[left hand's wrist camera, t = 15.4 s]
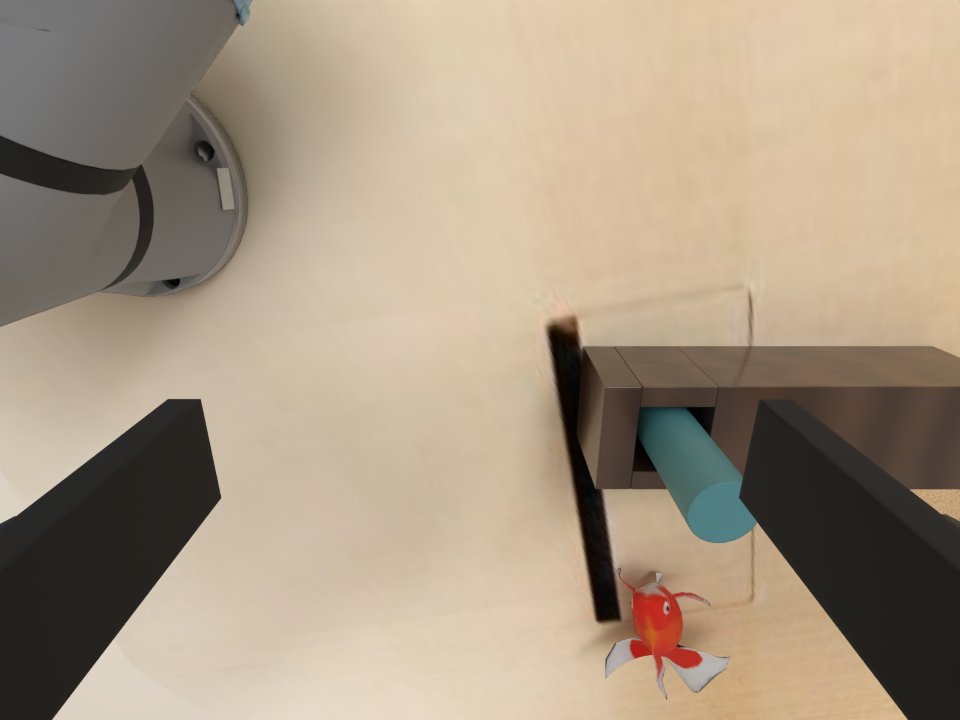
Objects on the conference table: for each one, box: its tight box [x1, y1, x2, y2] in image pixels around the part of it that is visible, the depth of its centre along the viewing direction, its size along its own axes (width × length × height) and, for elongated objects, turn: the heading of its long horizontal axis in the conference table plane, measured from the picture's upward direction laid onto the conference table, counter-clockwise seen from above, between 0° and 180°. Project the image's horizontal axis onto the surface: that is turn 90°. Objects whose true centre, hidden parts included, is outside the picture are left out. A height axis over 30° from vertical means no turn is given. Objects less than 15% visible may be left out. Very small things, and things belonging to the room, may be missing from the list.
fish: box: [605, 568, 730, 699], centre depth 48 cm, size 11×16×10 cm
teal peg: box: [637, 407, 757, 543], centre depth 36 cm, size 4×4×15 cm
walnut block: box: [577, 347, 960, 489], centre depth 40 cm, size 28×8×8 cm, turn 90°
